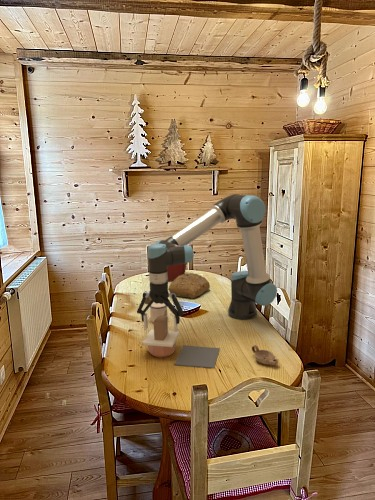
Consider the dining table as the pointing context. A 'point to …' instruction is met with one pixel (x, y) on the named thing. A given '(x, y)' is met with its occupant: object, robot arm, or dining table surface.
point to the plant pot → (175, 271)
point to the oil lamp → (264, 356)
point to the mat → (197, 356)
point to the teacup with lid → (158, 310)
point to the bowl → (161, 350)
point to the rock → (148, 299)
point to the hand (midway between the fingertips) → (161, 329)
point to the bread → (189, 285)
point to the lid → (161, 334)
